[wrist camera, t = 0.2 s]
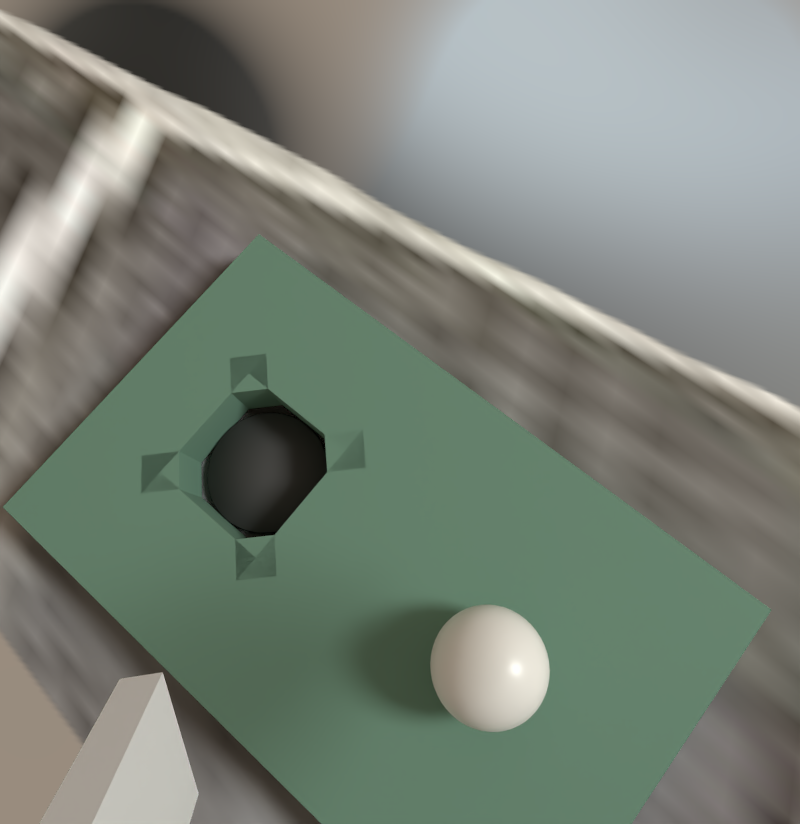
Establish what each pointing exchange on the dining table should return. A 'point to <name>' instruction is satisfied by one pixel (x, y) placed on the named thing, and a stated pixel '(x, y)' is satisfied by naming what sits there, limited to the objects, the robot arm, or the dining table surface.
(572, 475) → the putting mat
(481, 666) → the golf ball
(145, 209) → the dining table surface
